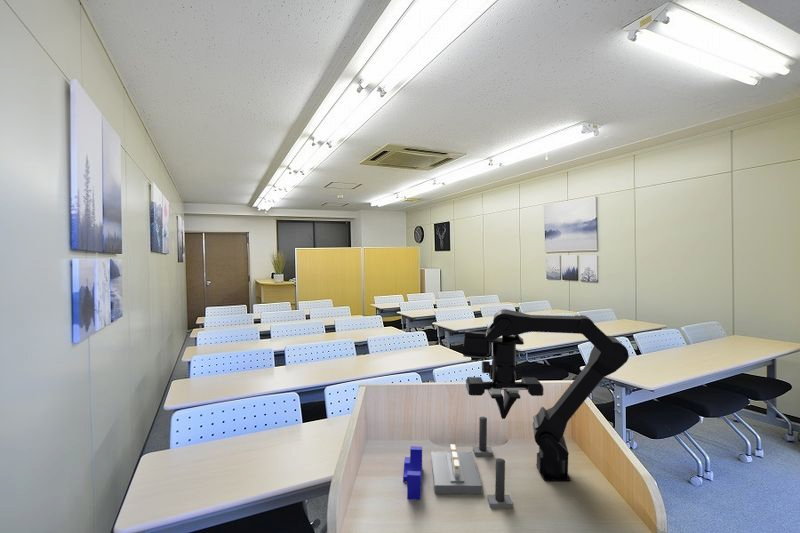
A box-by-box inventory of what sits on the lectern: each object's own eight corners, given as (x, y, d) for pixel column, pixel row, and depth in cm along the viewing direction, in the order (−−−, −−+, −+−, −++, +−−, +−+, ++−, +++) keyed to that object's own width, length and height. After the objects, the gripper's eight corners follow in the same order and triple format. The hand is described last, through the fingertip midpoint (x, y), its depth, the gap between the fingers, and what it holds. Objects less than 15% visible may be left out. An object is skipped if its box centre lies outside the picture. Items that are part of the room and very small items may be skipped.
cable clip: (405, 467, 99) (404, 445, 99) (422, 468, 99) (422, 446, 98) (400, 499, 87) (400, 474, 87) (420, 500, 87) (420, 475, 87)
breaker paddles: (454, 454, 101) (454, 443, 100) (459, 478, 91) (459, 466, 90) (450, 454, 101) (450, 443, 100) (454, 478, 91) (454, 466, 90)
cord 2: (509, 498, 87) (509, 457, 86) (512, 508, 84) (513, 465, 83) (487, 498, 87) (487, 456, 86) (490, 507, 84) (490, 464, 83)
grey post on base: (490, 449, 107) (491, 415, 106) (492, 456, 104) (493, 420, 103) (472, 449, 107) (473, 415, 106) (474, 455, 104) (475, 420, 103)
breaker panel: (471, 458, 103) (472, 450, 103) (481, 493, 89) (481, 484, 89) (431, 458, 103) (431, 450, 103) (434, 493, 89) (434, 484, 89)
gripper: (530, 350, 105) (529, 404, 106) (463, 350, 106) (462, 404, 107) (544, 363, 94) (543, 424, 95) (469, 363, 94) (468, 423, 96)
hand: (503, 418), depth 98 cm, fingers closed
